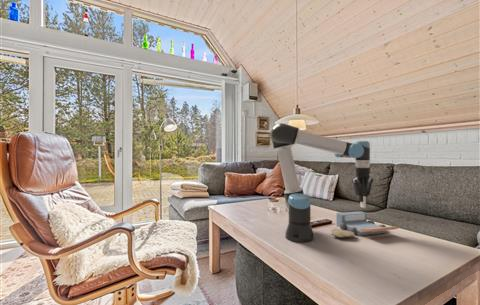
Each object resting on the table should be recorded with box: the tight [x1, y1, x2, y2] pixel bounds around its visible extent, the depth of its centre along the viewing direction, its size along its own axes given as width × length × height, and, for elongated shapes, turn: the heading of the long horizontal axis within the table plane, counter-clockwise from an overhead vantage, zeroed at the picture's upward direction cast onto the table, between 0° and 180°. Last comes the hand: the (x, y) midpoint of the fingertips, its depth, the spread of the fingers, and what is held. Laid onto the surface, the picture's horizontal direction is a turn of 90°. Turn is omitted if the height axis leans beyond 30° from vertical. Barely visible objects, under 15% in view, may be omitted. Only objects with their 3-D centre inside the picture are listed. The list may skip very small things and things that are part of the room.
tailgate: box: [360, 226, 399, 232], centre depth 125 cm, size 17×1×8 cm
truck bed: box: [336, 211, 387, 236], centre depth 138 cm, size 22×20×8 cm
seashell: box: [331, 228, 355, 239], centre depth 127 cm, size 12×12×3 cm
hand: (363, 207), depth 136 cm, fingers closed
